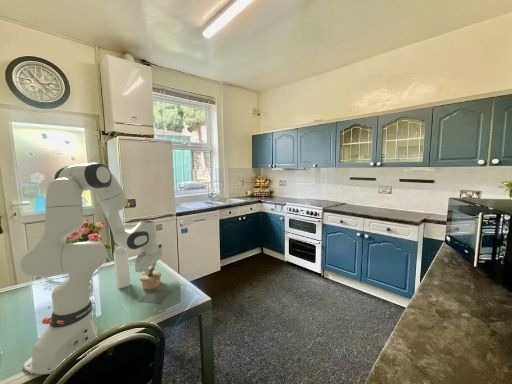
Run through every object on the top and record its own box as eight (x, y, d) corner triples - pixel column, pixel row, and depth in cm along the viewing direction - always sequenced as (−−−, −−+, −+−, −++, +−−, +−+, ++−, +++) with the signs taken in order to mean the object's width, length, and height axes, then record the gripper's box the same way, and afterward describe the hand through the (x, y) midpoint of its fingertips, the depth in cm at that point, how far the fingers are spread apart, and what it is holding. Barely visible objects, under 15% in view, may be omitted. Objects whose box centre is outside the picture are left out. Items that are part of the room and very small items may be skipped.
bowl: (154, 290, 128) (153, 281, 127) (138, 289, 129) (138, 280, 129) (163, 281, 137) (162, 273, 136) (148, 280, 138) (148, 272, 138)
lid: (153, 282, 126) (153, 274, 126) (135, 281, 128) (134, 273, 127) (164, 273, 137) (164, 265, 136) (147, 271, 139) (146, 264, 138)
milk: (130, 285, 134) (127, 248, 131) (118, 289, 129) (115, 250, 127) (127, 281, 138) (124, 245, 135) (115, 285, 134) (112, 247, 131)
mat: (160, 304, 115) (159, 303, 115) (137, 302, 117) (137, 301, 117) (172, 291, 127) (172, 290, 127) (152, 289, 129) (151, 288, 129)
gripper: (141, 256, 120) (143, 282, 121) (163, 242, 140) (165, 265, 141) (130, 255, 121) (132, 281, 122) (154, 242, 141) (155, 264, 142)
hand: (150, 272), depth 132 cm, fingers open, 4 cm apart
